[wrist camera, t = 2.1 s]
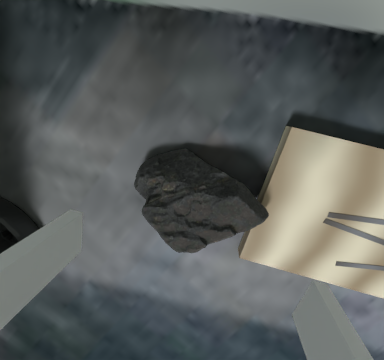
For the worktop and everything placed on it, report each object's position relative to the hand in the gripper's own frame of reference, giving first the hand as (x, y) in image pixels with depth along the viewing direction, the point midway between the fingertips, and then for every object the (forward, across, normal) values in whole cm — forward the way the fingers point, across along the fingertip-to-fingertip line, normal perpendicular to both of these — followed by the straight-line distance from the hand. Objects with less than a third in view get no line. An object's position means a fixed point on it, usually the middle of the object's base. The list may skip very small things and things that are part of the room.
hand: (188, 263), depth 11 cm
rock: (+10, -1, 0) cm, 10 cm away
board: (+10, +18, +2) cm, 21 cm away
